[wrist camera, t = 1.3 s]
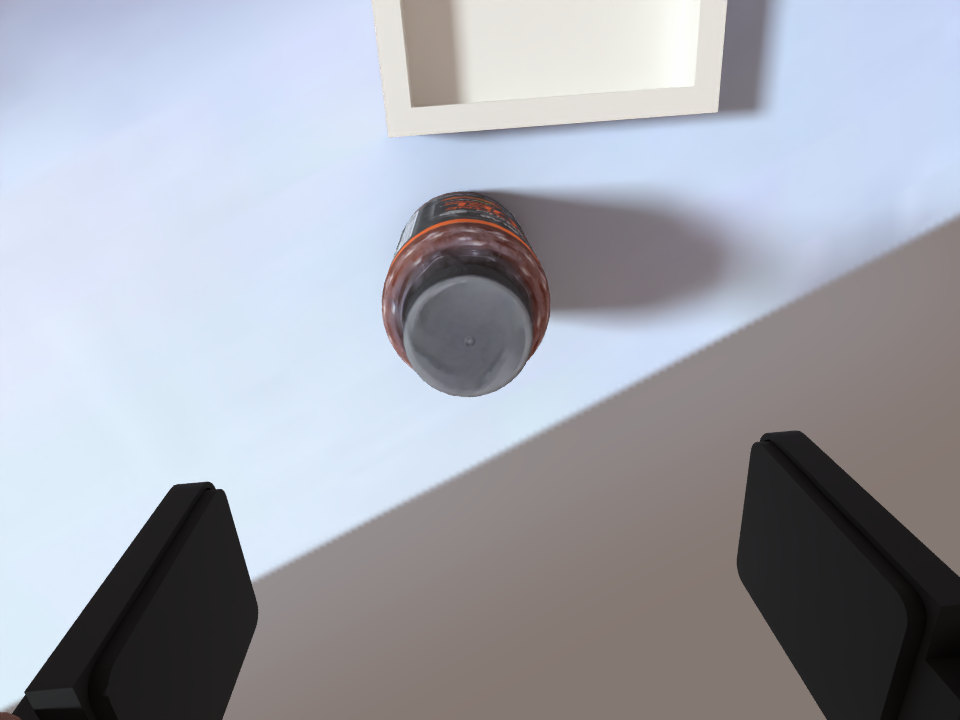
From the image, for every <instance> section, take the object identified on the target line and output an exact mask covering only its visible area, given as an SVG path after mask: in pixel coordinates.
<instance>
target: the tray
mask: <svg viewBox="0 0 960 720" xmlns="http://www.w3.org/2000/svg"><path fill="white" fill-rule="evenodd" d="M372 8H373V16H374V25H375V33H376V41H377V49H378V57H379V65H380V73H381V81H382V89H383V98H384V106H385V114H386V122H387V130H388V137H401V136H414V135H427V134H440V133H453V132H466V131H479V130H492V129H505V128H518V127H531V126H544V125H557V124H570V123H583V122H596V121H610V120H623V119H636V118H649V117H662V116H675V115H688V114H701V113H714V112H718V103H719V92H720V80H721V68H722V57H723V45H724V33H725V22H726V10H727V0H372Z"/></svg>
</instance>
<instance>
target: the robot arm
mask: <svg viewBox="0 0 960 720" xmlns="http://www.w3.org/2000/svg"><path fill="white" fill-rule="evenodd" d="M737 569H738V573H739V576H740V579H741V581H742V583H743V585H744V586H745V588H746V589H747V591H748V592H749V594H750V596H751V598H752V599H753V601H754V602H755V604H756V606H757V607H758V609H759V610H760V612H761V613H762V615H763V617H764V619H765V620H766V622H767V623H768V625H769V627H770V628H771V630H772V632H773V633H774V635H775V636H776V638H777V640H778V641H779V643H780V644H781V646H782V648H783V649H784V651H785V653H786V654H787V656H788V657H789V659H790V661H791V662H792V664H793V665H794V667H795V669H796V670H797V672H798V674H799V675H800V677H801V678H802V680H803V682H804V683H805V685H806V686H807V688H808V690H809V691H810V693H811V695H812V696H813V698H814V699H815V701H816V703H817V704H818V706H819V708H820V709H821V711H822V712H823V714H824V716H825V717H826V719H827V720H960V577H959V576H958V575H957V574H956V573H954V572H953V571H952V570H951V569H950V568H949V567H948V566H947V565H946V564H945V563H944V562H943V561H941V560H940V559H939V558H938V557H937V556H936V555H935V554H934V553H933V552H932V551H930V550H929V549H928V548H927V547H926V546H925V545H924V544H923V543H922V542H921V541H920V540H919V539H918V538H916V537H915V536H914V535H913V534H912V533H911V532H910V531H909V530H908V529H907V528H906V527H904V526H903V525H902V524H901V523H900V522H899V521H898V520H897V519H896V518H895V517H894V516H892V514H890V513H889V512H888V511H887V510H886V509H885V508H884V507H883V506H882V505H881V504H880V503H879V502H877V501H876V500H875V499H874V498H873V497H872V496H871V495H870V494H869V493H868V492H867V491H866V490H864V489H863V488H862V487H861V486H860V485H859V484H858V483H857V482H856V481H855V480H853V479H852V478H851V477H850V476H849V475H848V474H847V473H846V472H845V471H844V470H843V469H842V468H841V467H839V466H838V465H837V464H836V463H835V462H834V461H833V460H832V459H831V458H830V457H829V456H828V455H826V454H825V453H824V452H823V451H822V450H821V449H820V448H819V447H818V446H817V445H816V444H815V443H813V442H812V441H811V440H810V439H809V438H808V437H807V436H806V435H804V434H803V433H802V432H800V431H787V432H786V431H785V432H774V433H766V434H764V435H763V436H762V437H761V440H760V442H756V443H754V444H753V446H752V448H751V454H750V462H749V470H748V477H747V486H746V493H745V501H744V509H743V516H742V524H741V531H740V539H739V547H738V554H737ZM257 620H258V605H257V601H256V598H255V594H254V591H253V587H252V584H251V580H250V577H249V573H248V570H247V566H246V563H245V559H244V556H243V552H242V549H241V545H240V542H239V538H238V535H237V531H236V528H235V524H234V521H233V517H232V514H231V511H230V507H229V504H228V500H227V497H226V494H225V492H224V491H223V490H222V489H215V486H214V485H213V484H212V483H210V482H199V483H187V484H177V485H174V486H173V487H172V488H171V489H170V490H169V492H168V493H167V494H166V496H165V497H164V499H163V500H162V501H161V503H160V504H159V506H158V507H157V508H156V510H155V511H154V513H153V514H152V515H151V517H150V518H149V519H148V521H147V522H146V524H145V525H144V526H143V528H142V529H141V531H140V532H139V533H138V535H137V536H136V538H135V539H134V540H133V542H132V543H131V544H130V546H129V547H128V549H127V550H126V551H125V553H124V554H123V556H122V557H121V558H120V560H119V561H118V563H117V564H116V565H115V567H114V568H113V569H112V571H111V572H110V574H109V575H108V576H107V578H106V579H105V581H104V582H103V583H102V585H101V586H100V588H99V589H98V590H97V592H96V593H95V595H94V596H93V597H92V599H91V600H90V601H89V603H88V604H87V606H86V607H85V608H84V610H83V611H82V613H81V614H80V615H79V617H78V618H77V620H76V621H75V622H74V624H73V625H72V626H71V628H70V629H69V631H68V632H67V633H66V635H65V636H64V638H63V639H62V640H61V642H60V643H59V645H58V646H57V647H56V649H55V650H54V651H53V653H52V654H51V656H50V657H49V658H48V660H47V661H46V663H45V664H44V665H43V667H42V668H41V670H40V671H39V672H38V674H37V675H36V676H35V678H34V679H33V681H32V682H31V683H30V685H29V686H28V688H27V689H26V690H25V692H24V693H25V694H26V695H25V696H24V697H23V699H22V700H21V702H20V703H19V704H18V706H17V707H16V709H15V710H14V712H13V713H12V714H10V713H8V712H0V720H222V719H223V716H224V713H225V710H226V707H227V705H228V702H229V699H230V697H231V694H232V691H233V689H234V686H235V683H236V680H237V677H238V675H239V672H240V669H241V667H242V664H243V661H244V658H245V656H246V653H247V650H248V647H249V645H250V642H251V639H252V637H253V634H254V631H255V628H256V625H257Z"/></svg>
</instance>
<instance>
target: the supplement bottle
mask: <svg viewBox="0 0 960 720" xmlns="http://www.w3.org/2000/svg"><path fill="white" fill-rule="evenodd" d="M382 314H383V321H384V326H385V329H386V332H387V335H388V338H389V340H390V343H391V344H392V346H393V347H394V349H395V350H396V352H397V353H398V355H399V356H400V357H401V358H402V360H403V361H404V362H405V363H406V364H408V365H409V366H410V367H411V368H412V369H413V370H415V372H416V373H417V374H418V375H419V376H420V377H421V378H422V380H423V381H425V382H426V383H427V384H429V385H430V386H431V387H433V388H435V389H437V390H439V391H441V392H444V393H446V394H449V395H452V396H461V397H476V396H481V395H485V394H489V393H491V392H494V391H497V390H499V389H501V388H502V387H504V386H505V385H507V384H508V383H509V382H511V381H512V380H513V379H514V378H515V377H516V376H517V375H518V374H519V373H520V372H521V370H522V369H523V367H524V366H525V364H526V362H527V361H528V360H529V359H530V357H531V356H532V355H533V354H534V352H535V351H536V349H537V348H538V346H539V345H540V343H541V341H542V339H543V337H544V335H545V332H546V329H547V325H548V321H549V317H550V295H549V288H548V283H547V280H546V276H545V273H544V271H543V269H542V267H541V265H540V263H539V261H538V259H537V257H536V255H535V254H534V252H533V250H532V248H531V246H530V245H529V243H528V241H527V239H526V237H525V235H524V234H523V232H522V230H521V227H520V226H519V224H518V223H517V221H516V220H515V219H514V217H513V216H512V214H511V213H509V212H508V211H507V210H506V209H505V208H504V207H503V206H502V205H500V204H499V203H498V202H496V201H494V200H493V199H491V198H489V197H487V196H484V195H481V194H478V193H472V192H452V193H446V194H443V195H441V196H438V197H435V198H433V199H431V200H430V201H428V202H427V203H425V204H424V205H423V206H422V207H420V208H419V209H418V210H417V211H416V212H415V213H414V215H413V216H412V217H411V219H410V220H409V222H408V223H407V225H406V226H405V228H404V230H403V232H402V235H401V238H400V241H399V243H398V246H397V249H396V252H395V254H394V257H393V260H392V263H391V265H390V268H389V271H388V274H387V277H386V280H385V284H384V288H383V295H382Z"/></svg>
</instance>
